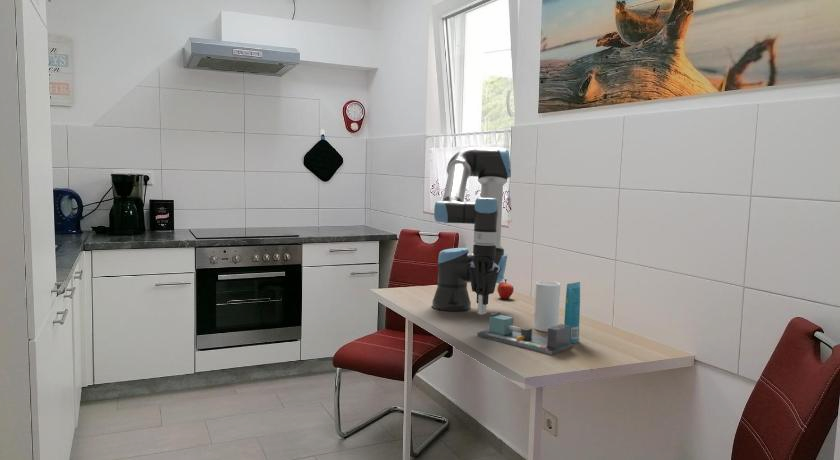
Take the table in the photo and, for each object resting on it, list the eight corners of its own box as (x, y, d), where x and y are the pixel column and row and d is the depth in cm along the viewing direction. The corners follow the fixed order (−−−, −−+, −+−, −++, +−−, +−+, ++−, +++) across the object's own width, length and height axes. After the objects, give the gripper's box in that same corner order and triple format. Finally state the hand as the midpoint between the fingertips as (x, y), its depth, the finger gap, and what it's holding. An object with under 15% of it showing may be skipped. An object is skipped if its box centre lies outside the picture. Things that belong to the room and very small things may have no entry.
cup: (544, 332, 210) (546, 286, 208) (529, 326, 217) (531, 281, 215) (563, 330, 214) (565, 284, 212) (547, 324, 221) (549, 280, 219)
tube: (569, 337, 204) (572, 280, 202) (582, 340, 201) (586, 282, 199) (558, 342, 199) (561, 283, 197) (572, 345, 195) (575, 285, 194)
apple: (511, 297, 267) (512, 274, 266) (514, 300, 260) (515, 277, 259) (493, 296, 267) (494, 273, 266) (496, 300, 260) (497, 276, 259)
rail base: (477, 335, 203) (478, 314, 202) (498, 329, 212) (499, 309, 211) (552, 355, 184) (553, 331, 183) (572, 347, 193) (573, 324, 192)
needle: (514, 340, 194) (514, 331, 194) (526, 336, 199) (526, 327, 199) (519, 341, 193) (520, 332, 192) (531, 338, 198) (532, 328, 197)
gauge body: (488, 331, 204) (489, 314, 204) (497, 328, 208) (498, 311, 207) (516, 338, 197) (517, 320, 196) (525, 335, 200) (526, 318, 200)
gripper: (462, 242, 208) (459, 311, 210) (493, 246, 199) (490, 318, 201) (476, 241, 214) (473, 308, 216) (507, 245, 205) (504, 315, 207)
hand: (481, 313), depth 208 cm, fingers closed
